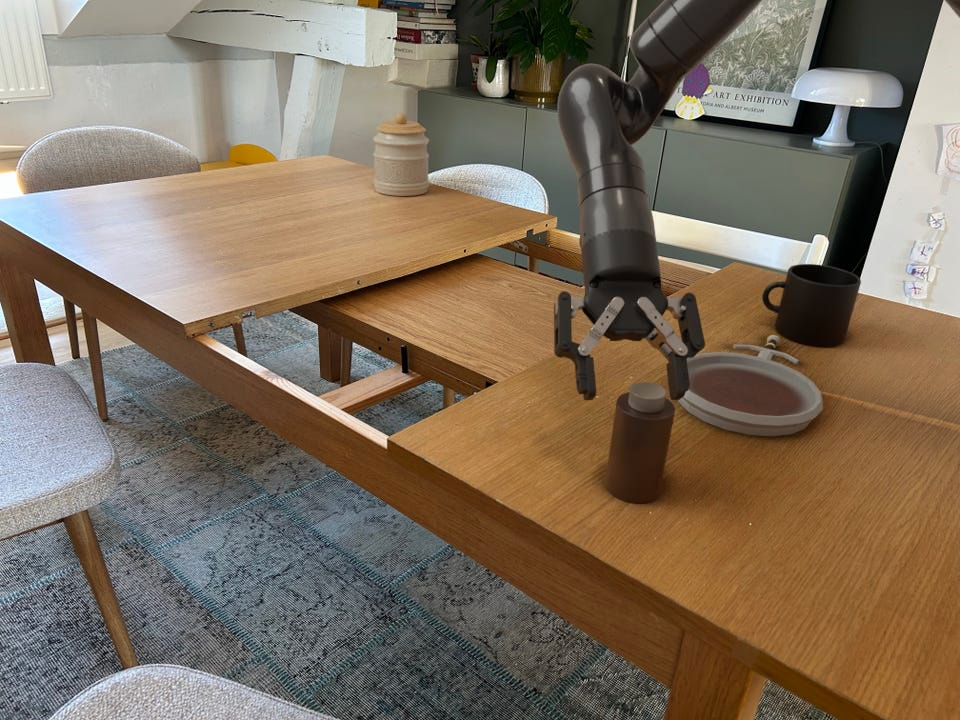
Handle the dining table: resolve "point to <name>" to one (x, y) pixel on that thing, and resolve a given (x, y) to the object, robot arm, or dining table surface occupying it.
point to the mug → (815, 304)
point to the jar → (401, 158)
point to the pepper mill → (639, 443)
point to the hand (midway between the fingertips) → (634, 398)
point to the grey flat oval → (751, 392)
